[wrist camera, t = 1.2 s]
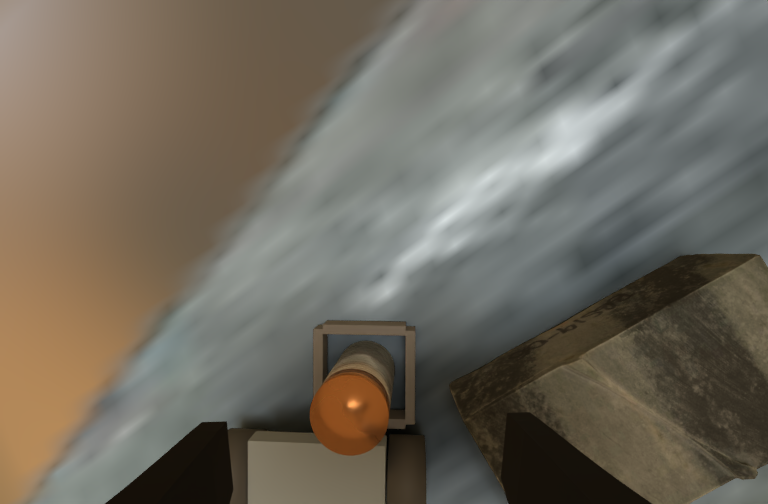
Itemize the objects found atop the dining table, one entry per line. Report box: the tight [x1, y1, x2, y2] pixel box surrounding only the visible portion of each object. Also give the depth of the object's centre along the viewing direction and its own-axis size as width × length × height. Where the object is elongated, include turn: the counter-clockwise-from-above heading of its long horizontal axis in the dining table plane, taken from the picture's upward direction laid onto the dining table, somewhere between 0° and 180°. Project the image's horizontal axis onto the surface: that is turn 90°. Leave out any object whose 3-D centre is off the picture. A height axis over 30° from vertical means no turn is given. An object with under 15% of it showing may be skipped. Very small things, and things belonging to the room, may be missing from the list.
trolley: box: [228, 320, 426, 504], centre depth 19 cm, size 17×10×5 cm, turn 0°
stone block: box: [449, 254, 768, 504], centre depth 18 cm, size 9×14×5 cm, turn 120°
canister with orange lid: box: [310, 341, 395, 456], centre depth 18 cm, size 3×3×6 cm
